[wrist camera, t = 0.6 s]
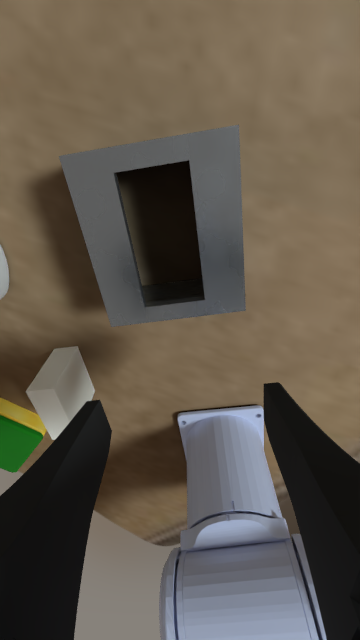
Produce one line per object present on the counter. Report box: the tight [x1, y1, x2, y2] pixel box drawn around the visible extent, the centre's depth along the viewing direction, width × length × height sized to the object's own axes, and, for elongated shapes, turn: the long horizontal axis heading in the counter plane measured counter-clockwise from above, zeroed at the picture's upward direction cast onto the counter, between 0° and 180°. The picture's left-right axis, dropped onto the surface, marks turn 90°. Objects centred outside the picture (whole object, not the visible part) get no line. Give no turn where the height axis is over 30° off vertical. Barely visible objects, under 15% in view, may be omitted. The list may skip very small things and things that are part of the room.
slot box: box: [59, 125, 246, 327], centre depth 17 cm, size 9×8×5 cm
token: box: [26, 346, 95, 440], centre depth 23 cm, size 5×2×5 cm, turn 8°
